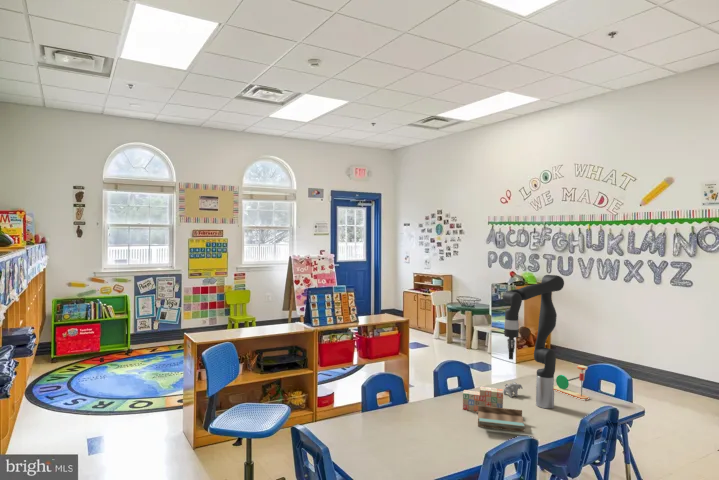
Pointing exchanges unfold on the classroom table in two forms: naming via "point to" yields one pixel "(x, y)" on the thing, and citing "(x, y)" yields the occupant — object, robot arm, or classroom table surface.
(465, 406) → the stack of blocks
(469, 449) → the classroom table surface
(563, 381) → the crank mechanism
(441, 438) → the classroom table surface
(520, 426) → the tailgate
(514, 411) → the cart bed
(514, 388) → the gray elephant figurine
